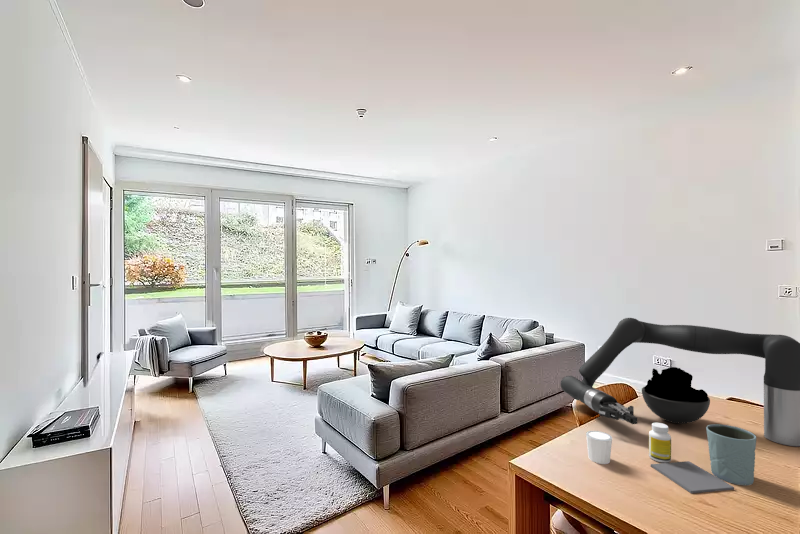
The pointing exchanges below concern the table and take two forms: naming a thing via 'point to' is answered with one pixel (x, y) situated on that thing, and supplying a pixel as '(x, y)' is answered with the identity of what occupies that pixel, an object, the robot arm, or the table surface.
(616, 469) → the table surface
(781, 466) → the table surface
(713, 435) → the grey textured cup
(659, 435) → the supplement bottle
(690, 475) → the mat
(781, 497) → the table surface
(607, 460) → the shot glass
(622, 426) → the table surface
